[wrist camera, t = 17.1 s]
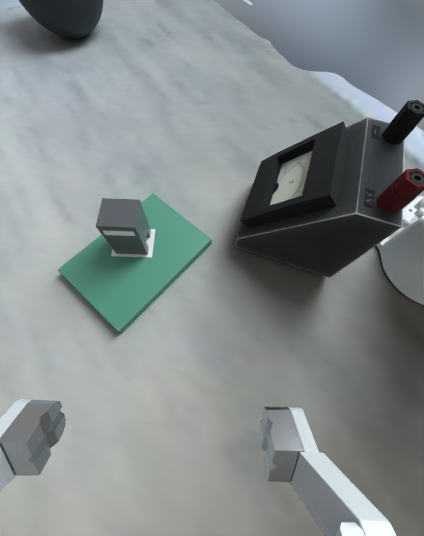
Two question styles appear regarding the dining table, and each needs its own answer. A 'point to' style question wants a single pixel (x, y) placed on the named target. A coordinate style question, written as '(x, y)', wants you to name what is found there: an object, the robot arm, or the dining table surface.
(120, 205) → the block
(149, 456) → the dining table surface
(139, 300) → the header board
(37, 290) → the dining table surface
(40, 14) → the coal bowl
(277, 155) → the voltmeter
